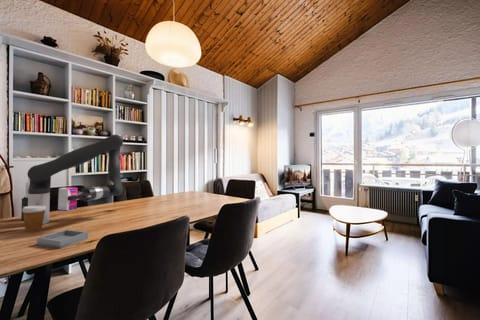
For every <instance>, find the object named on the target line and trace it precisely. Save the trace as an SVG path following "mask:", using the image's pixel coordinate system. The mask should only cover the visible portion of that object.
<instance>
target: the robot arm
mask: <svg viewBox="0 0 480 320" xmlns="http://www.w3.org/2000/svg"><path fill="white" fill-rule="evenodd" d="M123 144H124V140H123V137H122V136H121V135H118V134H110V135H109V136H107V137H106V138H104V139H101V140H99V141H97V142H95V143H91V144H88V145H84V146H81V147H79V148H76V149H73V150H71V151H69V152H67V153H65V154H63V155H61V156H59V157H57V158H55V159H52V160H50V161H47V162H43V163H40V164H36V165H33V166H31V167H30V168H29V169H28V171H27V173H26V175H27V177H28V178H29V179H30V185H29V189H28V206H33V205H45V207H46V210H45V214H44V220H43V225H45V224H48V223H49V222H50V207H51V206H50V202H51V201H50V199H51V196H50V195H51V183H52V182H51V181H52V176H54V175H57V174H58V173H61V172H63V171H65V170H68V169H72V168H75V167H77V166H80V165H83V164H85V163H87V162H89V161H92V160H94V159H95V158H97V157H99V156H101V155H102V154H104V153H106V152H108V166H107V167H108V168H107V169H108V170H107V171H108V172H107V180H108V181H110V182H111V183H112V184H105V185H102V186H101V185H100V186H90V187H84V188H82V189H81V190H80V191H77V195H73V196H68V201H70V200H77V201H78V200H79V201H83V202H89V201H93V200H98V199H102V198H106V197H108V196H115V197H116V196H121V194H123V191H124V188H123V183H122V180H121V164H120V163H121V161H120V152H121V147H122V146H123ZM58 199H59V194H58V195H57V200H58Z"/></svg>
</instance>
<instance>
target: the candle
mask: <svg viewBox="0 0 480 320" xmlns="http://www.w3.org/2000/svg"><path fill="white" fill-rule="evenodd" d="M29 185H30V179H29V178H28V179H27V182H25V196H24V197H23V198H21V211H20V212H21V218H20V219H21V221H24V216H23V212H22V210H23V207H26V206H28V189H29Z"/></svg>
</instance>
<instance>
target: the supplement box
mask: <svg viewBox="0 0 480 320" xmlns="http://www.w3.org/2000/svg"><path fill="white" fill-rule="evenodd" d="M77 192H78V187H71V186H70V187H69V186H68V187H67V186H66V187H59V188H58V195H59V199H58V198H57V202H58V203H57V210H58V211H61V212H68V211H74V210H77V205H78V200H70V201H68V196H73V195H77Z"/></svg>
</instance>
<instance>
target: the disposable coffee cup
mask: <svg viewBox="0 0 480 320" xmlns="http://www.w3.org/2000/svg"><path fill="white" fill-rule="evenodd" d="M45 210H46V207H45V205H33V206H26V207H23V210H22V209H21V212H23V216H24V220H23V222H24V229H25V232H28V233H29V232H31V233H32V232H37V231H40V230H42V229H43V225H44V224H43V220H44V214H45Z"/></svg>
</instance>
